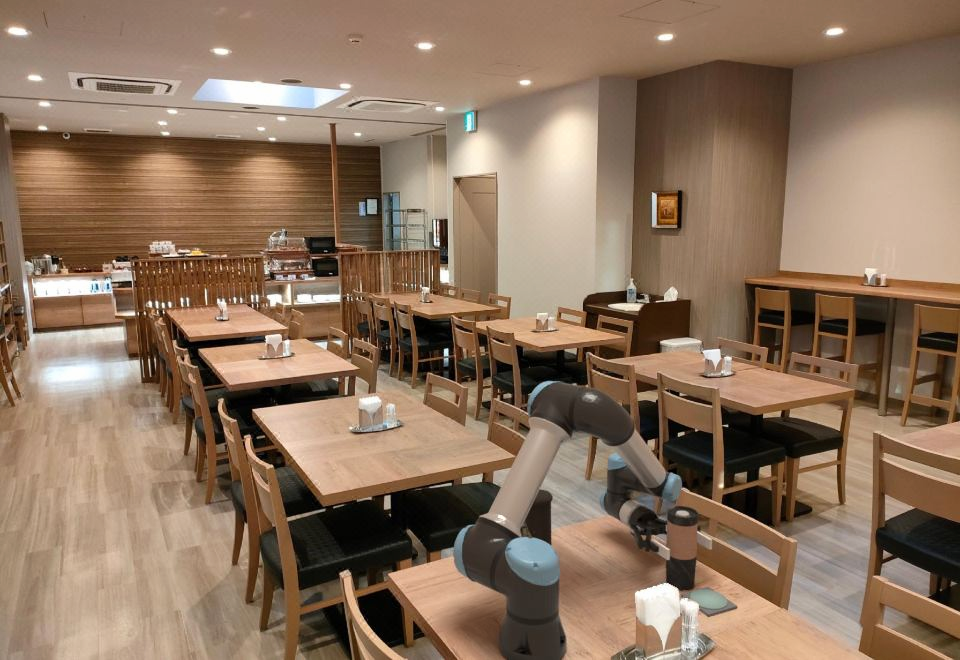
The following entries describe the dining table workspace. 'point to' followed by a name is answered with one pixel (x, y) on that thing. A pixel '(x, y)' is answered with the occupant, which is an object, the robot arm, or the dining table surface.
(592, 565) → the dining table surface
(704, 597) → the coaster
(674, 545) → the travel mug
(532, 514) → the container
